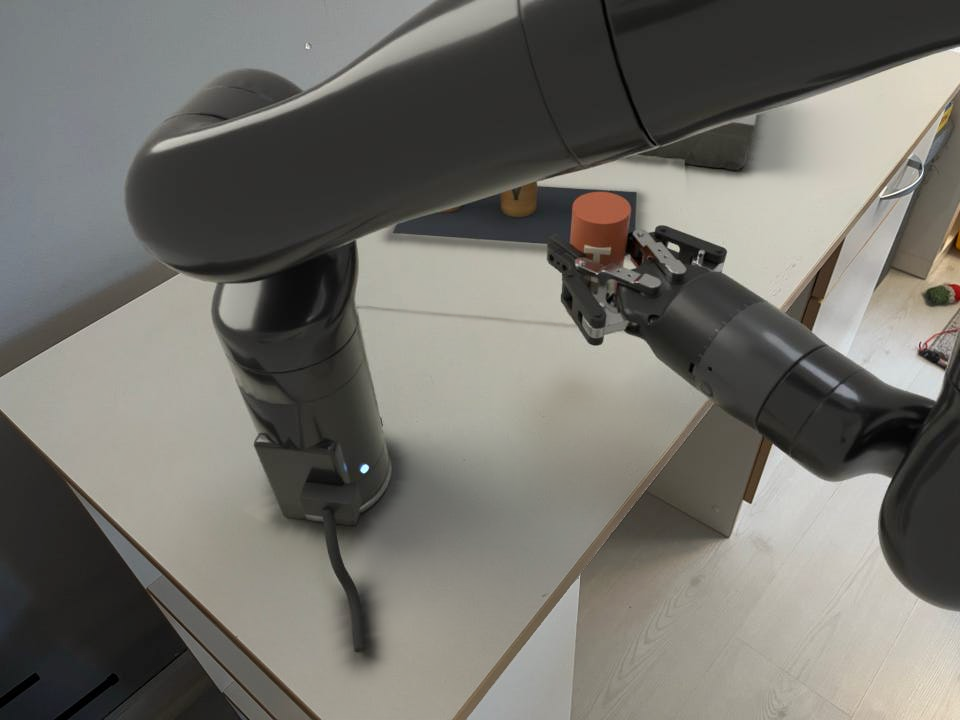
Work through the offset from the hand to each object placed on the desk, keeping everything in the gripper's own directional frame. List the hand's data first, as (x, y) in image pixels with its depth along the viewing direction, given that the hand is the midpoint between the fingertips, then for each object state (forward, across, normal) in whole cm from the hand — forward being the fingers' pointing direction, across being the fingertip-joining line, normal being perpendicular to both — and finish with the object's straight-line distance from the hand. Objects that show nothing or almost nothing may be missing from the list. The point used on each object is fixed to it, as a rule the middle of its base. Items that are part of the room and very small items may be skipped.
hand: (574, 234), depth 59 cm
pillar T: (-3, 0, +6) cm, 7 cm away
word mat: (+22, -11, +15) cm, 29 cm away
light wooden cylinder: (+23, -12, +14) cm, 30 cm away
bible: (+27, -40, +15) cm, 51 cm away
